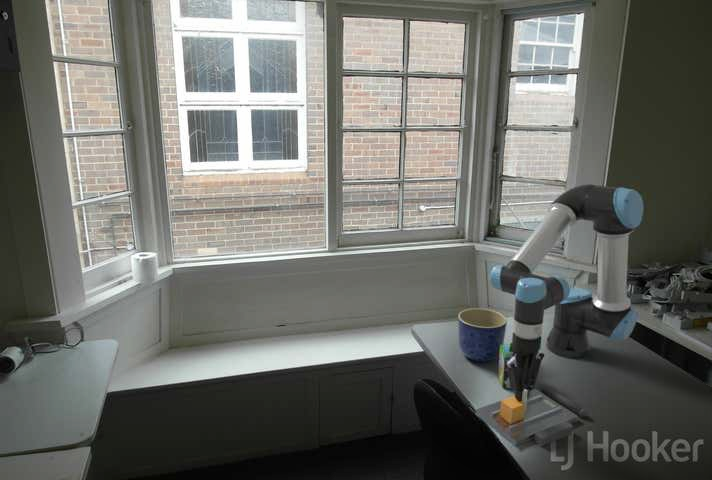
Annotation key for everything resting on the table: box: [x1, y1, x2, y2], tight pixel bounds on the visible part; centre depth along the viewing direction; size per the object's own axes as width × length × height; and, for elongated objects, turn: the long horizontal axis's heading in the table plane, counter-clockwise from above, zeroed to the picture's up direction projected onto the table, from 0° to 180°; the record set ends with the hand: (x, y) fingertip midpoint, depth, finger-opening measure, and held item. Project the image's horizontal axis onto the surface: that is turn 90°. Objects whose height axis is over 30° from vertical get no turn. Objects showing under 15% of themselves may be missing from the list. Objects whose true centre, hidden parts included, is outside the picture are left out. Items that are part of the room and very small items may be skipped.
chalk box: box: [497, 342, 514, 390], centre depth 157 cm, size 9×9×15 cm
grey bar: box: [533, 421, 574, 447], centre depth 132 cm, size 2×12×2 cm, turn 117°
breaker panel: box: [475, 388, 579, 447], centre depth 140 cm, size 16×24×2 cm, turn 117°
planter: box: [457, 307, 508, 363], centre depth 174 cm, size 17×17×15 cm
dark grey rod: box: [541, 385, 588, 418], centre depth 146 cm, size 15×2×2 cm, turn 27°
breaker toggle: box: [500, 395, 525, 424], centre depth 137 cm, size 4×5×5 cm
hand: (520, 408), depth 138 cm, fingers closed
